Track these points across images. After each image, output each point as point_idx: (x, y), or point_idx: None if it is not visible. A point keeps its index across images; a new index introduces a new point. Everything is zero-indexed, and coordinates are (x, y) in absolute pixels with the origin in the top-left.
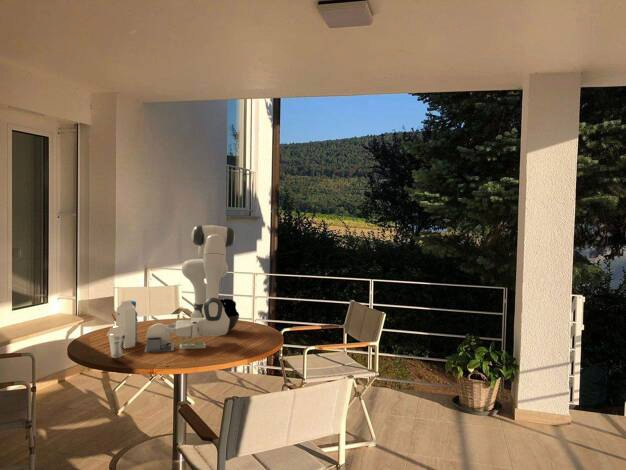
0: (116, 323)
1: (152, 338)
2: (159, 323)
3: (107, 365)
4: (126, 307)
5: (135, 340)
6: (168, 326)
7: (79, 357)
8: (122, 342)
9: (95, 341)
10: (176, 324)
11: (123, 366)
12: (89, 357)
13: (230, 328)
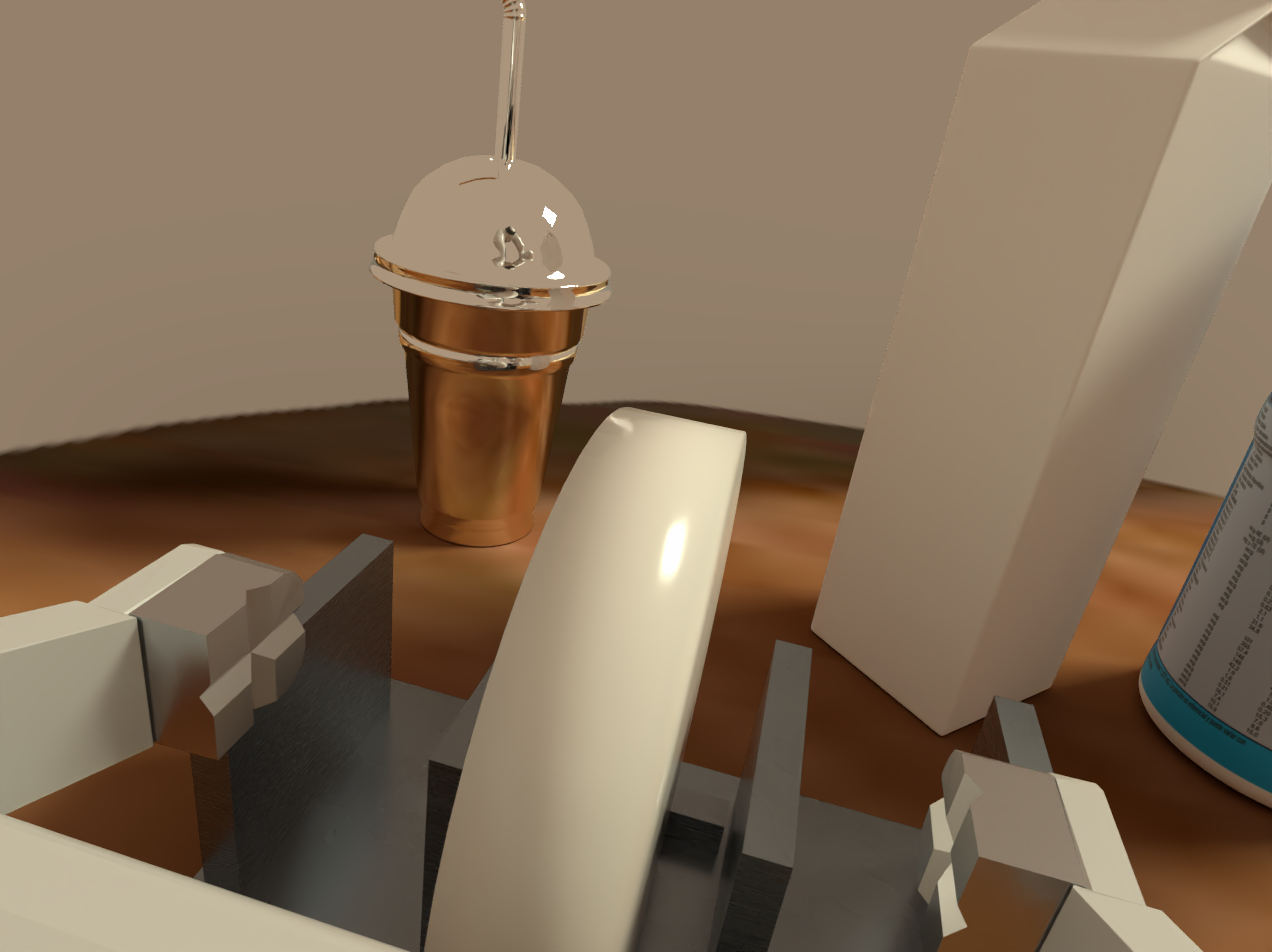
0: (498, 126)
1: None
2: (705, 461)
3: (194, 426)
4: (1037, 32)
5: (1257, 782)
6: (952, 886)
7: (603, 404)
8: (417, 376)
9: (1195, 547)
10: (274, 941)
11: (13, 468)
12: (568, 426)
13: None
